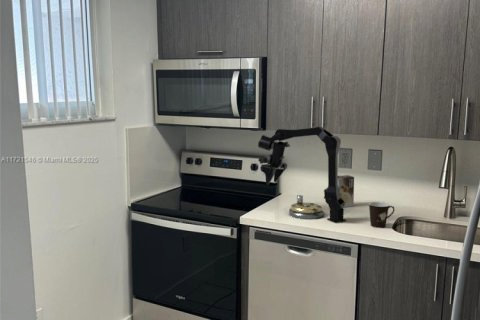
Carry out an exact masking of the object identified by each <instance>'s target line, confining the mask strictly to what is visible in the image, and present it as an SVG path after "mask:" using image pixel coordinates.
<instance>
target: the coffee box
mask: <svg viewBox="0 0 480 320" xmlns="http://www.w3.org/2000/svg"><path fill="white" fill-rule="evenodd" d="M338 187H339V190H340V196H341V198H342V199H343V200H344V202H345V205H344V206H343V208H347V207H348V208H349V207H351V208H352V207H354V206H355V205H354V204H355V203H354V202H355V201H354V199H355V196H354V195H355V193H354V192H355V176H352V175H347V174H345V175H338Z"/></svg>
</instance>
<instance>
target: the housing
mask: <svg viewBox="0 0 480 320" xmlns="http://www.w3.org/2000/svg"><path fill="white" fill-rule="evenodd" d="M324 212H325V210H323V209H322V211H321V212H320V213H316V214H300V213H296V212H293V211H292V210H291V208H289V209H288V215H289V216H290V217H291V216H292V217H291V218H294V217H295V218H294V219H299V218H300V220H317V219H321V217H322V218H323V217H324V215H325V214H324Z"/></svg>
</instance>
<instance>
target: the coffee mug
mask: <svg viewBox="0 0 480 320" xmlns="http://www.w3.org/2000/svg"><path fill="white" fill-rule="evenodd" d="M368 207H369V219H370V226H371V227H373V228H376V229H383V228H386V225H387V220H388V219H389V218H390V217H391V216H393V214H394V213H395V207H394V206H392V205H390V204H389V203H386V202H381V201H380V202H379V201H373V202H369V203H368ZM390 208H392V211H391V213H389V209H390ZM388 214H389V215H388Z"/></svg>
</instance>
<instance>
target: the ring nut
mask: <svg viewBox="0 0 480 320" xmlns="http://www.w3.org/2000/svg"><path fill="white" fill-rule="evenodd" d="M290 209H291V210H292V211H293V212H296V213H300V214H316V213H320V212H321V211H322V210H323V205H321V204H319V203H314V202H304V195H302V194H298V195H296V203H292V204H291V207H290Z"/></svg>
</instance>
